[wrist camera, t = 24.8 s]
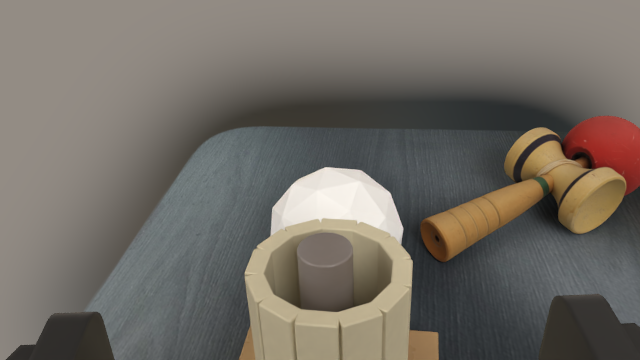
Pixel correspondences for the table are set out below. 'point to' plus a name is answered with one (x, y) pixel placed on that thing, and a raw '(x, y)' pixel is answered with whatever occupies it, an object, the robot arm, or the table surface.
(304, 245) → the stand
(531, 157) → the kendama
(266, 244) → the beige grooved cup
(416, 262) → the table surface
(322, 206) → the ball
